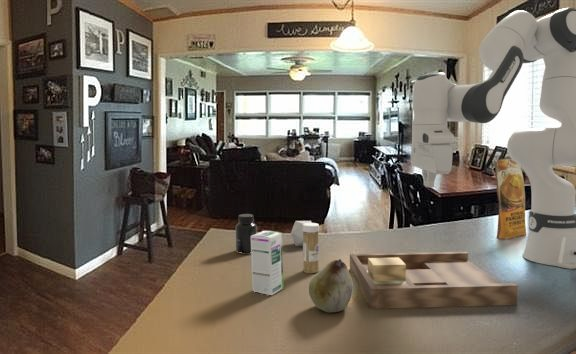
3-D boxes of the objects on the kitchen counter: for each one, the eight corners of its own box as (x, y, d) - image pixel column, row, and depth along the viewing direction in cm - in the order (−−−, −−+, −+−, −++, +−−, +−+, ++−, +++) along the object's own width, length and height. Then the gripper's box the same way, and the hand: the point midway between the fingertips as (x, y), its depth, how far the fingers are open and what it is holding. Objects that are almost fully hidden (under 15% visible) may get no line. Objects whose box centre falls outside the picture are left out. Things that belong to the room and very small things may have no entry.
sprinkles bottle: (316, 274, 123) (316, 226, 122) (300, 273, 125) (300, 225, 123) (320, 269, 127) (320, 222, 126) (305, 268, 129) (304, 221, 127)
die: (308, 251, 148) (323, 225, 150) (284, 237, 149) (299, 212, 151) (306, 254, 156) (321, 229, 158) (284, 240, 157) (299, 216, 159)
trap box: (465, 267, 128) (465, 251, 128) (516, 304, 101) (517, 285, 101) (349, 269, 127) (349, 254, 126) (371, 308, 100) (371, 289, 100)
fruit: (339, 322, 93) (340, 266, 92) (300, 312, 98) (300, 259, 97) (359, 305, 102) (359, 253, 101) (322, 297, 107) (322, 247, 106)
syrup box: (271, 296, 108) (271, 237, 106) (251, 292, 111) (250, 234, 109) (283, 288, 113) (283, 232, 111) (263, 285, 116) (262, 229, 114)
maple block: (398, 272, 117) (398, 257, 116) (405, 280, 111) (405, 264, 110) (367, 273, 116) (368, 258, 116) (373, 281, 110) (373, 265, 110)
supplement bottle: (231, 253, 144) (231, 216, 143) (242, 247, 150) (241, 212, 149) (251, 255, 142) (250, 218, 140) (260, 249, 148) (260, 213, 147)
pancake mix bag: (485, 237, 161) (488, 159, 158) (515, 230, 171) (519, 156, 168) (502, 241, 156) (506, 160, 152) (533, 233, 166) (537, 157, 163)
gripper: (405, 133, 130) (405, 181, 132) (432, 137, 109) (431, 193, 111) (426, 133, 130) (426, 180, 132) (457, 136, 110) (456, 192, 112)
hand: (428, 186), depth 121 cm, fingers closed
